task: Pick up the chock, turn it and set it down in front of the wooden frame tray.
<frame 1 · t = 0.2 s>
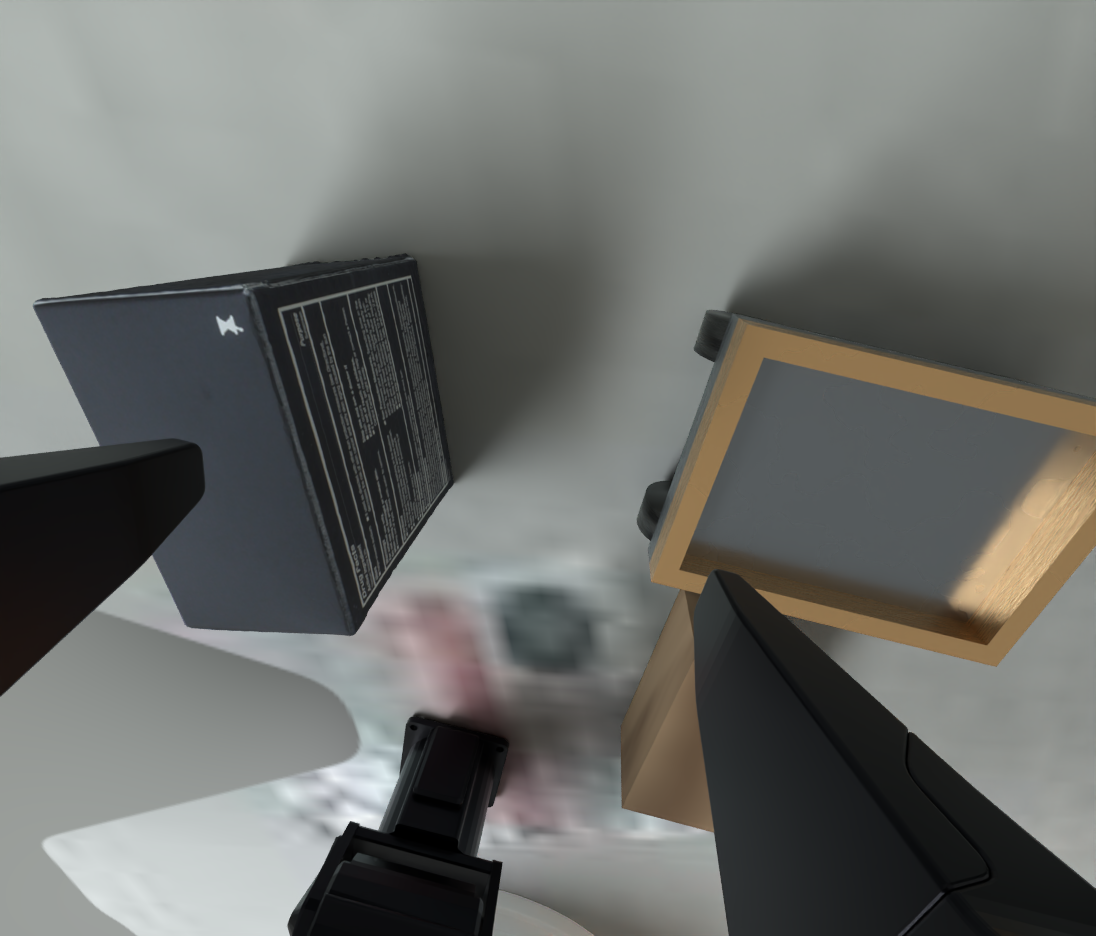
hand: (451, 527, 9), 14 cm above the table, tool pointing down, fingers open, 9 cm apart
chock: (693, 669, 28), on the table
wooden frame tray: (823, 448, 22), on the table
small box: (373, 382, 24), on the table
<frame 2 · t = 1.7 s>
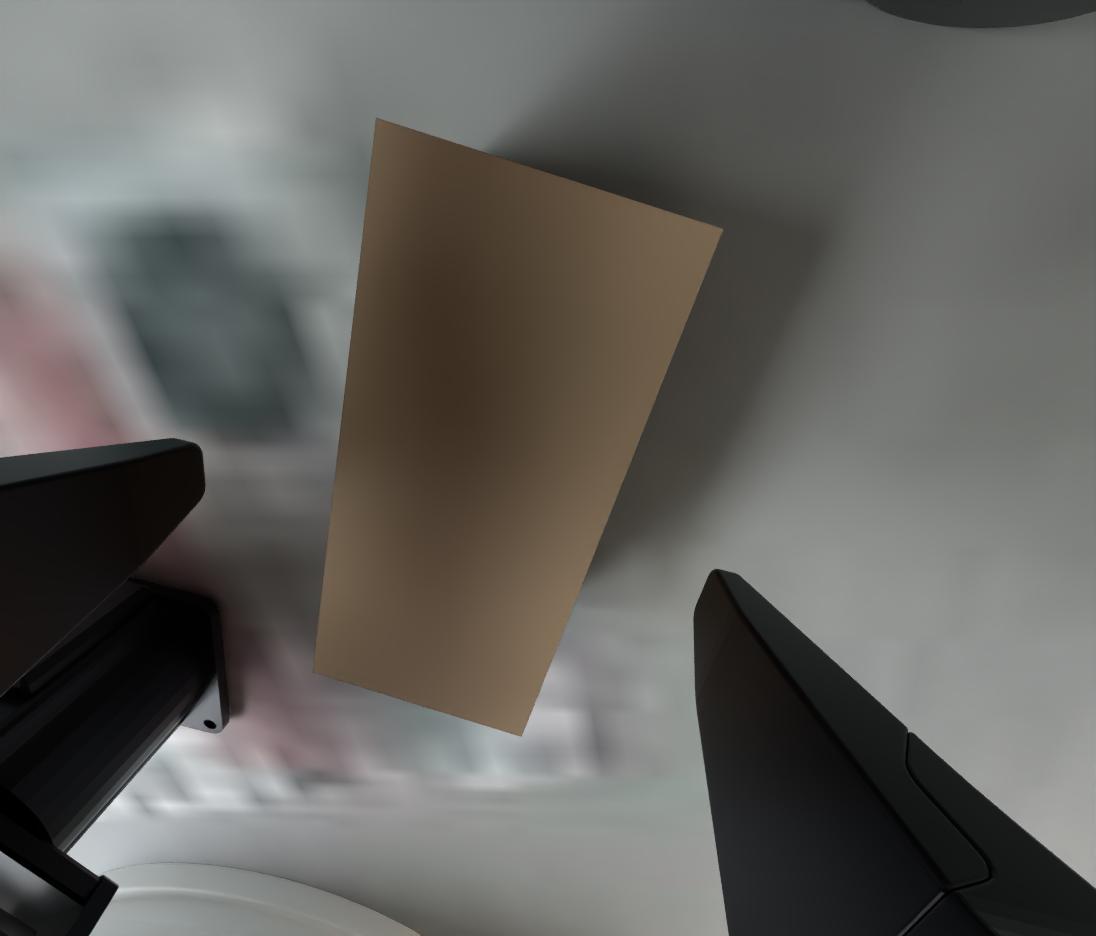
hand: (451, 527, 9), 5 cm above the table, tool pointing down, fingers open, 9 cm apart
chock: (515, 417, 14), on the table
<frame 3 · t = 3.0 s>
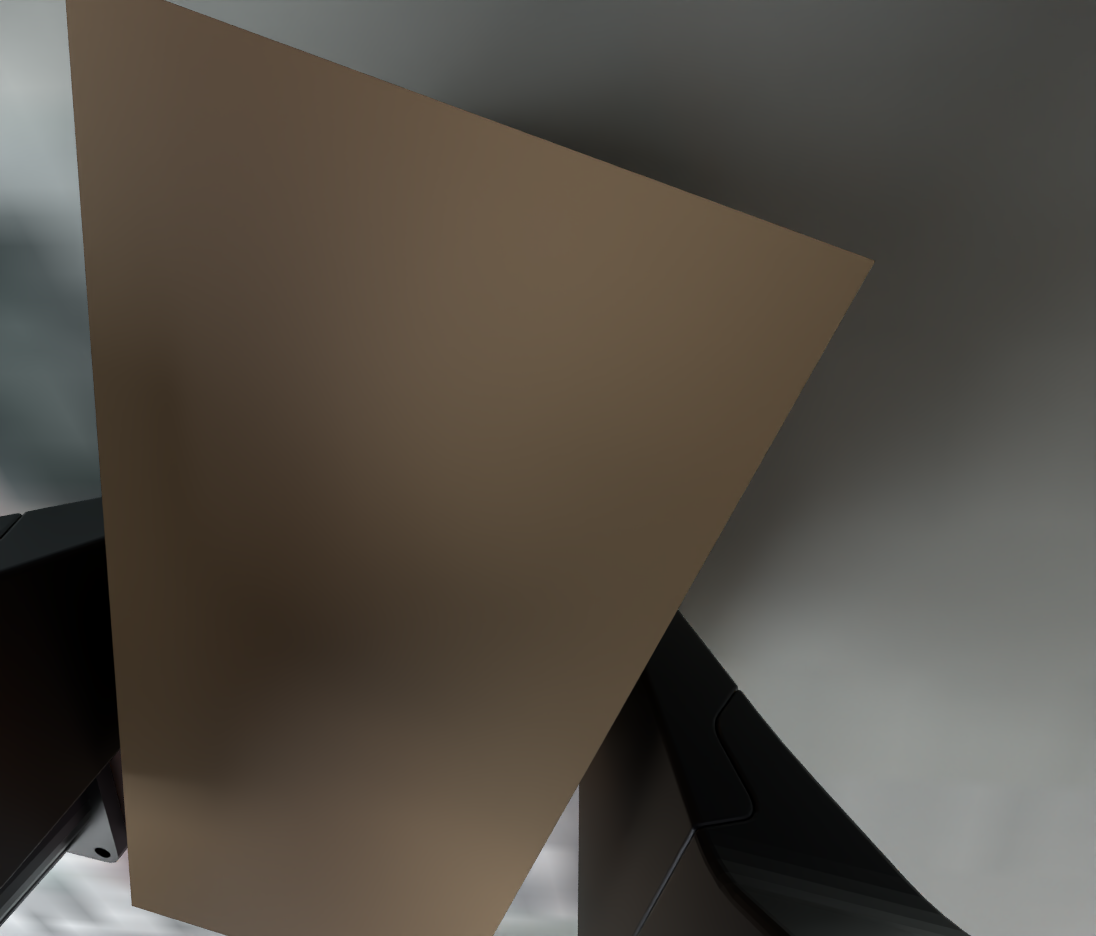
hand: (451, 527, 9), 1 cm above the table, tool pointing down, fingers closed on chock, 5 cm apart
chock: (468, 497, 10), on the table, touching gripper
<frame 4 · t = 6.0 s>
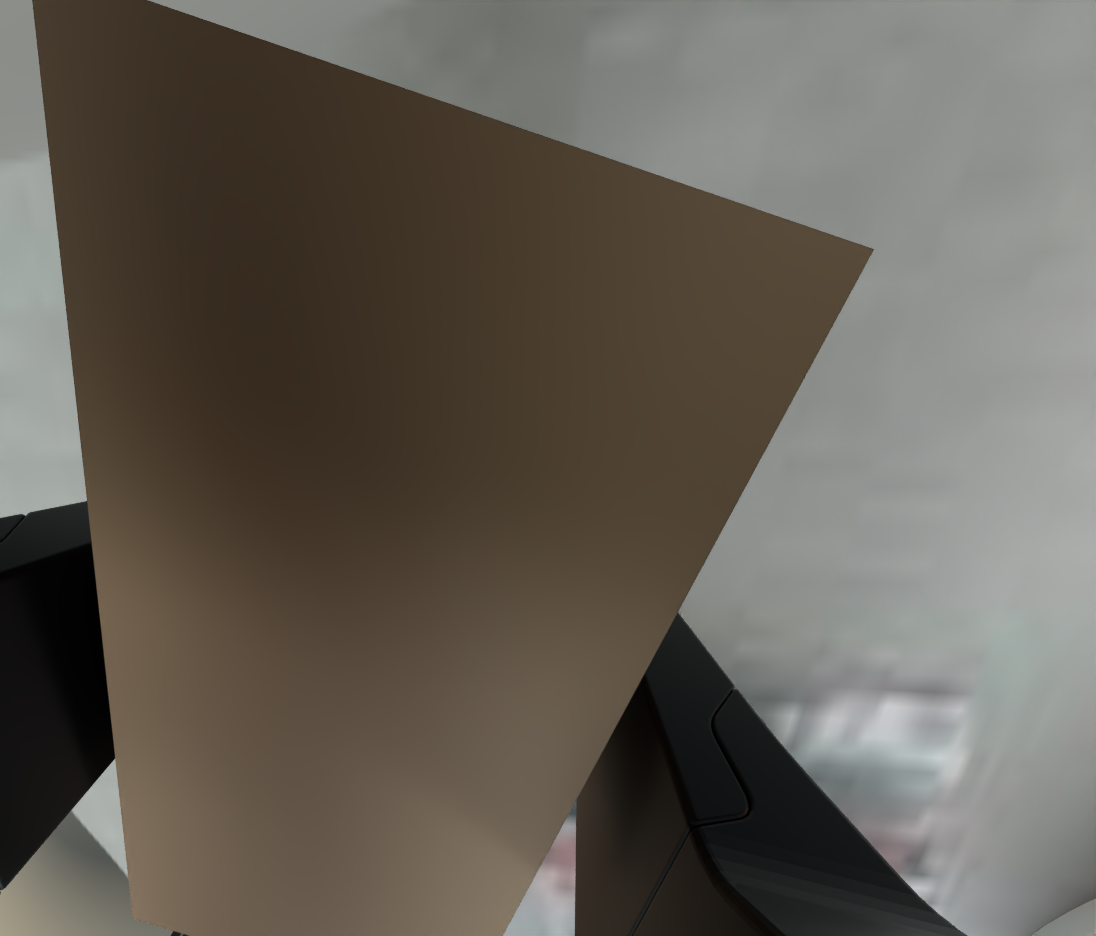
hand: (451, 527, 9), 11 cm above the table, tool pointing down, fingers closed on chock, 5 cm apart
chock: (467, 500, 10), point 11 cm above the table, touching gripper
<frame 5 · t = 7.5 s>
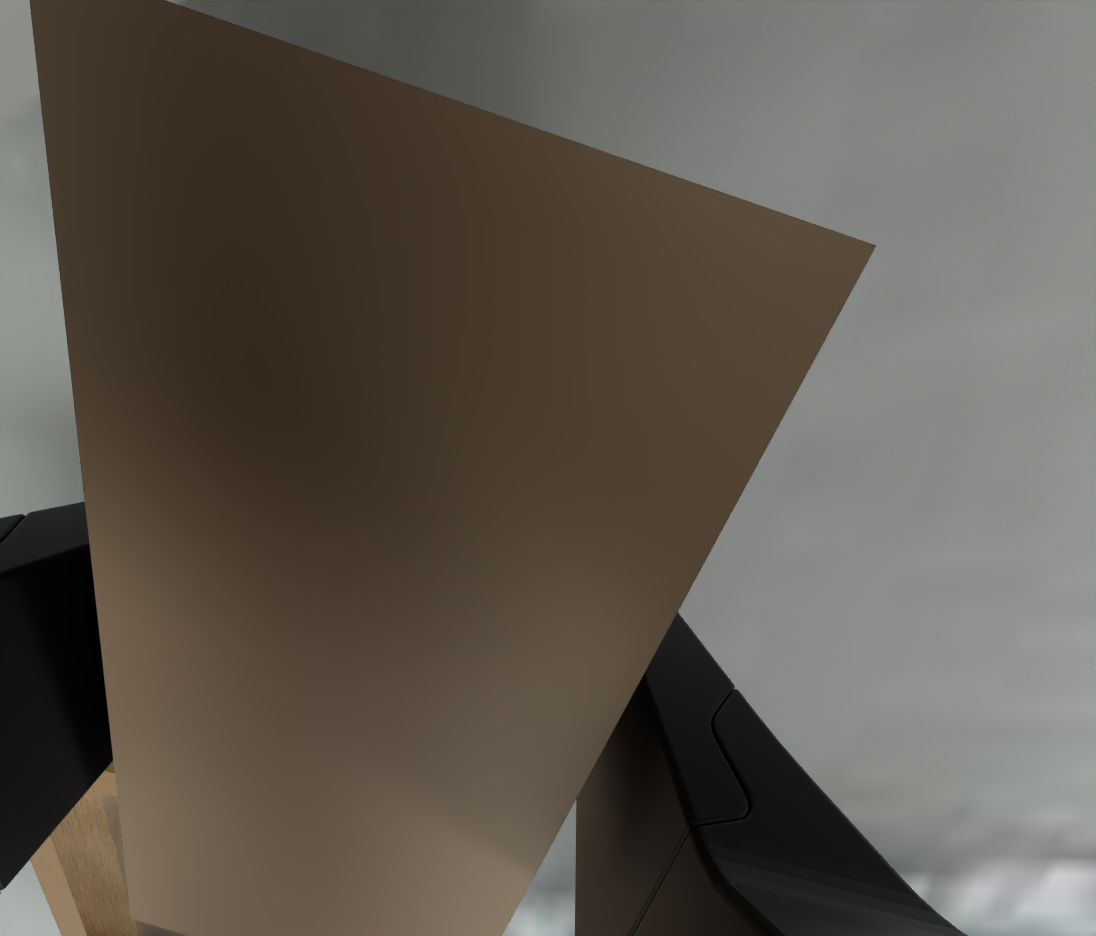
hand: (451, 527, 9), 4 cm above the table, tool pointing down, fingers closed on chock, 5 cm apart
chock: (467, 499, 10), point 3 cm above the table, touching gripper
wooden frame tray: (334, 749, 18), on the table
when the fingers open (2 cm above the table, at t = 8.8 s): chock drops 1 cm, on the table.
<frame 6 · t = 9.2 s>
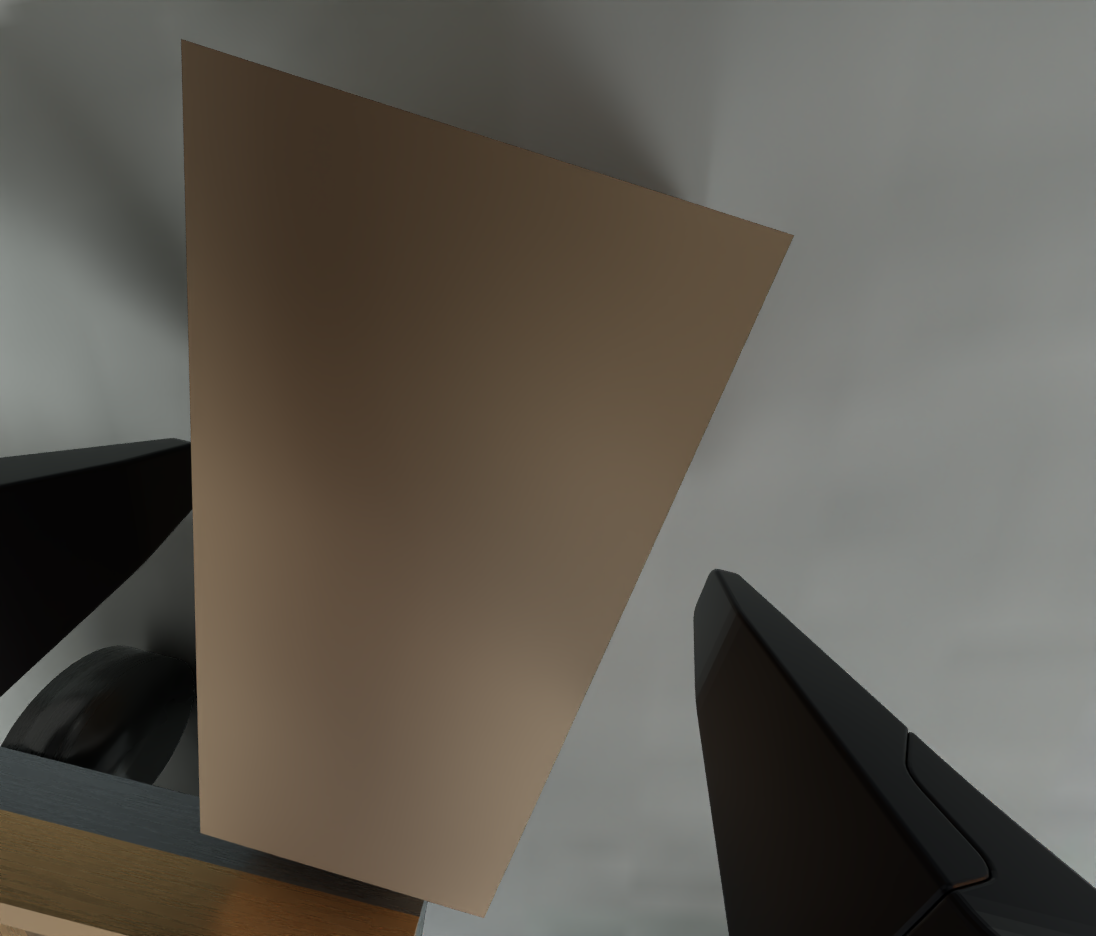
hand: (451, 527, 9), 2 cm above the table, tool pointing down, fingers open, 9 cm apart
chock: (482, 472, 11), on the table
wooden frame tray: (302, 813, 16), on the table
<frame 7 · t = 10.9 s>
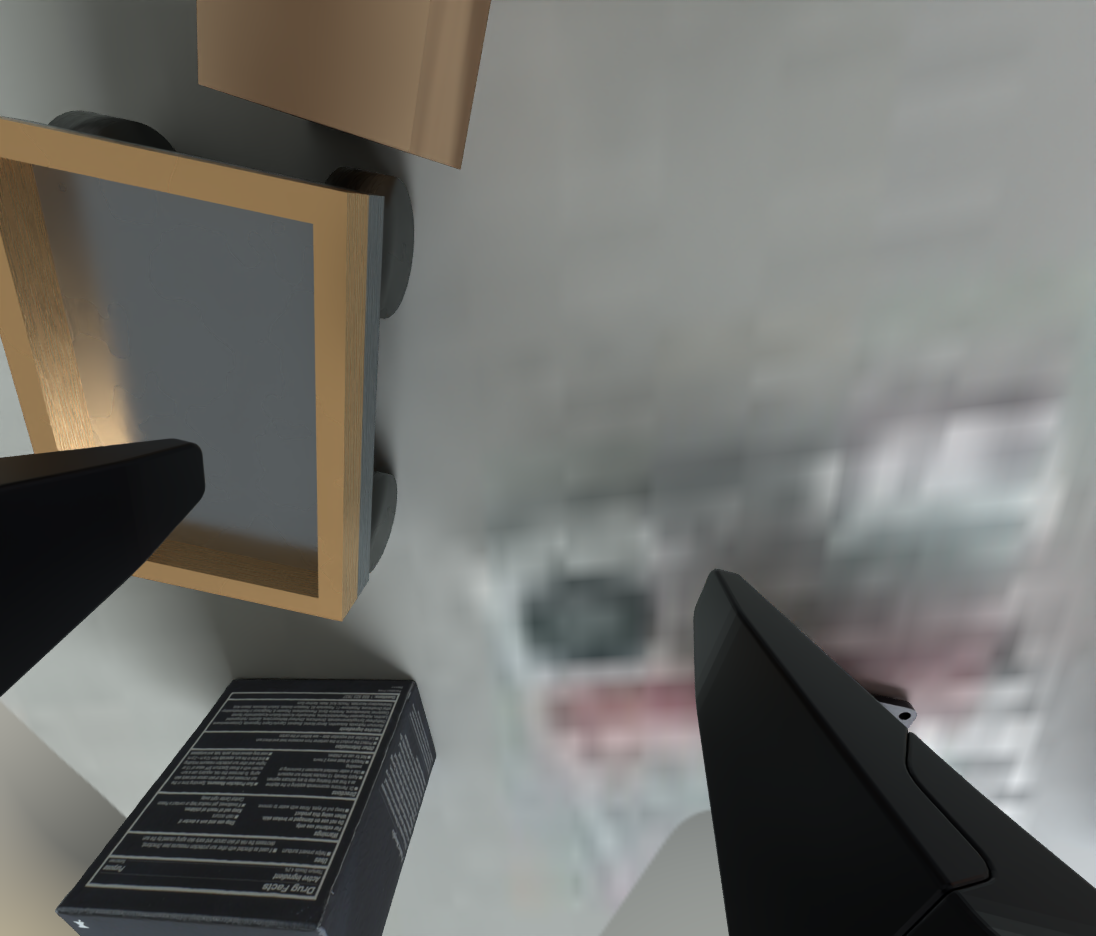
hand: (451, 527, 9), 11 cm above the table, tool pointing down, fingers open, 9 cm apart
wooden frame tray: (288, 363, 20), on the table
small box: (339, 715, 29), on the table
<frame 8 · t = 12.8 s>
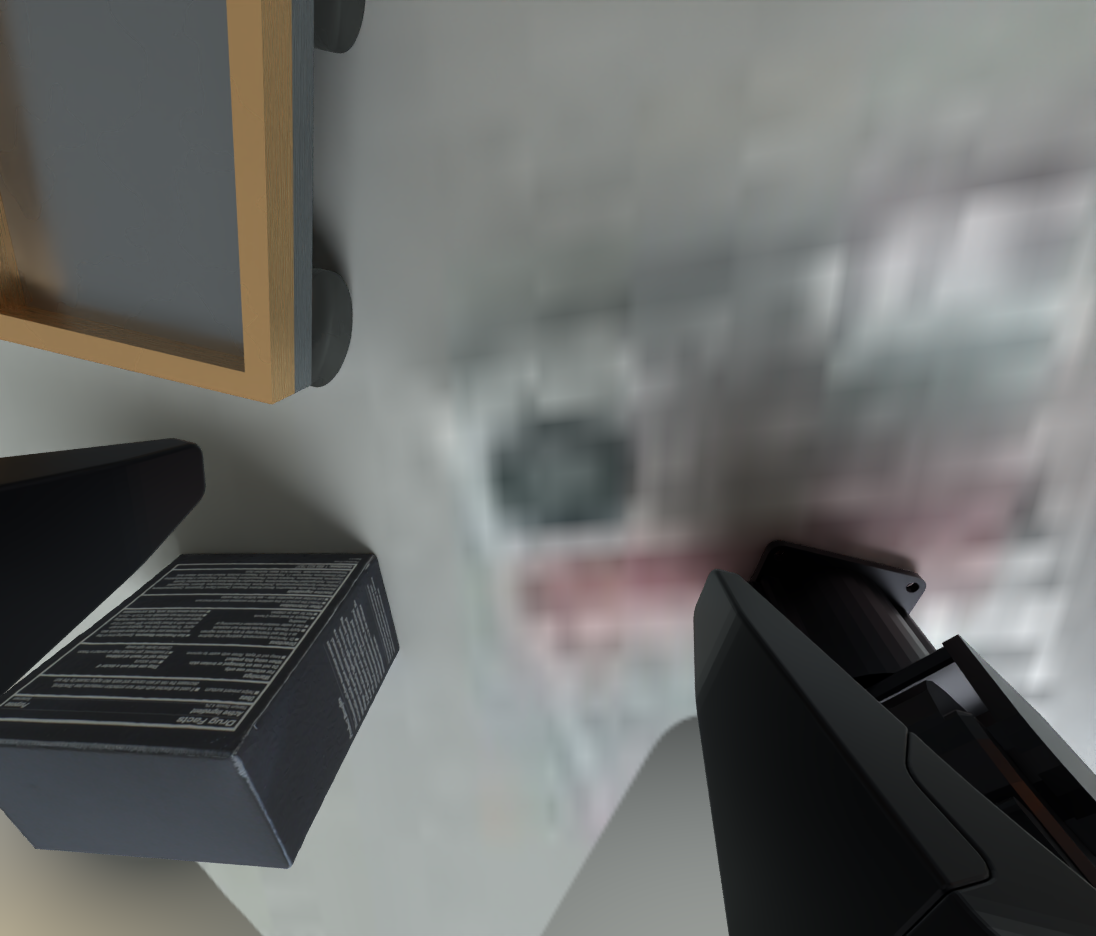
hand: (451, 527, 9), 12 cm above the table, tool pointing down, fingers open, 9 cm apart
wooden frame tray: (232, 147, 18), on the table
small box: (296, 601, 27), on the table
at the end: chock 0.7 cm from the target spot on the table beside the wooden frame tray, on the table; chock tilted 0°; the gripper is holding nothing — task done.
